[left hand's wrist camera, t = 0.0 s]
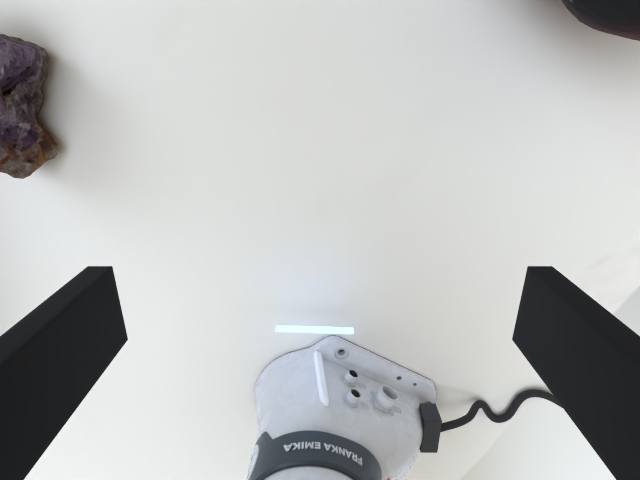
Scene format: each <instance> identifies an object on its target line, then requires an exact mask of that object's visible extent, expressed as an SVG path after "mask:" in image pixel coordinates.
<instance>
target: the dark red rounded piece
mask: <svg viewBox="0 0 640 480" xmlns="http://www.w3.org/2000/svg"><path fill="white" fill-rule="evenodd" d="M562 2H563V3H564V4H565V6H566V7H567V9H568V10H569V11H570V12H571V13H572V14H573V15H574V16H575V17H576V18H577V19H578V20H579V21H580V22H582V23H584V24H586V25H588V26H589V27H591V28H593V29H596V30H599V31H602V32H605V33H609V34H613V35H617V36H621V37H625V38H629V39H633V40H639V41H640V0H562Z"/></svg>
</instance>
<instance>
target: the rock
mask: <svg viewBox="0 0 640 480" xmlns="http://www.w3.org/2000/svg"><path fill="white" fill-rule="evenodd" d="M48 60H49V58H48V55H47V52H46V51H45V49H44V48H42V47H39V46H37V45H36V44H34V43H31V42H25V41H23V40H22V39H20V38H15V37H8V36H6V35H3V34H0V172H3V173H7V174H9V175H10V176H12V177H14V178H21V179H23V178H25V177H28V176H30V175H31V174H32V173H33V172H34V171H35V170H36V169H38V168H39V167H40V166H42V164H43V163H44V162H46V161H47V160H50V159H53V158H55V157H56V154H57V149H56V147H57V143H56V142H55V141H54V140H53V138H52V136H51V135H50V133H49V132H48V131H46V130H45V129H44V128H43V127H42V125H43V124H42V123H41V122H40V121H39V120H38V119H37V118H36V116H37V114H38V113H39V111H40V109H41V106H42V104H43V102H44V95H43V93H42V91H41V85H42V83H43V81H44V80H45V79H47V63H48Z"/></svg>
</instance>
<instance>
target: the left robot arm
mask: <svg viewBox="0 0 640 480" xmlns="http://www.w3.org/2000/svg"><path fill="white" fill-rule="evenodd" d="M127 340H128V338H127V334H126V329H125V324H124V319H123V315H122V310H121V305H120V301H119V296H118V291H117V287H116V282H115V277H114V273H113V268H112V266H88V267H87V268H85V269H84V270H83V271H82V272H80V273H79V274H78V275H77V276H75V277H74V278H73V279H72V280H70V281H69V282H68V283H67V284H65V285H64V286H63V287H62V288H60V289H59V290H58V291H57V292H55V293H54V294H53V295H52V296H50V297H49V298H48V299H47V300H45V301H44V302H43V303H42V304H40V305H39V306H38V307H37V308H35V309H34V310H33V311H32V312H30V313H29V314H28V315H27V316H25V317H24V318H23V319H22V320H20V321H19V322H18V323H17V324H15V325H14V326H13V327H12V328H10V329H9V330H8V331H7V332H5V333H4V334H3V335H2V336H0V480H24V478H25V477H26V476H27V474H28V473H29V472H30V470H31V469H32V468H33V466H34V465H35V464H36V462H37V461H38V460H39V458H40V457H41V455H42V454H43V453H44V451H45V450H46V449H47V447H48V446H49V445H50V443H51V442H52V441H53V439H54V438H55V437H56V435H57V434H58V433H59V431H60V430H61V429H62V427H63V426H64V425H65V423H66V422H67V421H68V419H69V418H70V416H71V415H72V414H73V412H74V411H75V410H76V408H77V407H78V406H79V404H80V403H81V402H82V400H83V399H84V398H85V396H86V395H87V394H88V392H89V391H90V390H91V388H92V387H93V386H94V384H95V383H96V382H97V380H98V379H99V377H100V376H101V375H102V373H103V372H104V371H105V369H106V368H107V367H108V365H109V364H110V363H111V361H112V360H113V359H114V357H115V356H116V355H117V353H118V352H119V351H120V349H121V348H122V347H123V345H124V344H125V343H126V341H127ZM512 340H513V341H514V343H515V344H516V345H517V347H518V348H519V349H520V351H521V352H522V353H523V355H524V356H525V357H526V359H527V360H528V361H529V363H530V364H531V365H532V367H533V368H534V369H535V371H536V372H537V373H538V375H539V376H540V377H541V379H542V380H543V382H544V383H545V384H546V386H547V387H548V388H549V390H550V391H551V392H552V394H553V395H554V396H555V398H556V399H557V400H558V402H559V403H560V404H561V406H562V407H563V408H564V410H565V411H566V412H567V414H568V415H569V416H570V418H571V419H572V421H573V422H574V423H575V425H576V426H577V427H578V429H579V430H580V431H581V433H582V434H583V435H584V437H585V438H586V439H587V441H588V442H589V443H590V445H591V446H592V447H593V449H594V450H595V451H596V453H597V454H598V455H599V457H600V458H601V460H602V461H603V462H604V464H605V465H606V466H607V468H608V469H609V470H610V472H611V473H612V474H613V476H614V477H615V478H616V480H640V336H638V335H637V334H636V333H635V332H633V331H632V330H631V329H630V328H628V327H627V326H626V325H625V324H623V323H622V322H621V321H620V320H618V319H617V318H616V317H615V316H613V315H612V314H611V313H610V312H608V311H607V310H606V309H605V308H603V307H602V306H601V305H600V304H598V303H597V302H596V301H595V300H593V299H592V298H591V297H590V296H588V295H587V294H586V293H585V292H583V291H582V290H581V289H580V288H578V287H577V286H576V285H575V284H573V283H572V282H571V281H570V280H568V279H567V278H566V277H565V276H563V275H562V274H561V273H560V272H558V271H557V270H556V269H555V268H553V267H552V266H528V268H527V273H526V277H525V282H524V287H523V291H522V296H521V301H520V305H519V310H518V315H517V319H516V324H515V329H514V334H513V338H512Z"/></svg>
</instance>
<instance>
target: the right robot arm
mask: <svg viewBox="0 0 640 480" xmlns="http://www.w3.org/2000/svg"><path fill="white" fill-rule="evenodd" d="M276 332H304V333H335V334H353V333H354V330H353V328H346V327H315V326H284V325H276ZM341 349H343V350H344V351H342V352H340V351H339V350H341ZM530 397H541V398H544V399H547V400H549V401H551V402H553V403H555V404H557V405H559V406H560V407H562V406H561V404H560V403H559V402H558V400H557V399H556V398H555V396H554V395H552V394H550V393H548V392H545V391H541V390H528V391H525V392H522V393H521V394H519V395H518V396H517V397H516V398H515V400H514V401H513V402H512V404H511V406H510V407H509V409H508V410H507V411H506V413H504V414H503V415H499V416H496V415H494V414H493V413H492V411H491V409H490V408H489V406H488V405H487V404H486V403H485V402H484V401H476V402H475V403H474V404H473V405H472V406H471V408H470V410H469V412H468V413H467V414H466V415H465V416H463V417H461V418H459V419H456V420H452V421H449V422H445V423H442V420H441V418H440V415H439V412H438V409H437V406H436V400H437V398H436V391H435V386H434V383H433V382H432V381H430V380H429V379H427V378H425V377H422V376H420V375H418V374H416V373H414V372H412V371H410V370H408V369H406V368H403V367H401V366H399V365H397V364H395V363H393V362H391V361H389V360H386V359H384V358H382V357H380V356H378V355H376V354H374V353H372V352H369V351H367V350H365V349H363V348H361V347H359V346H357V345H355V344H353V343H350V342H348V341H346V340H344V339H342V338H340V337H337V336H328V337H326V338H324V339H322V340H321V341H319V342H317V343H316V344H315V345H313V346H312V347H309V348H306V349H303V350H298V351H294V352H291V353H288V354H285V355H283V356H281V357H279V358H277V359H276V360H274V361H273V362H271V363H270V364H269V365H268V366H267V367H266V368H265V369H264V370H263V371H262V373H261V374H260V376H259V378H258V380H257V382H256V385H255V390H254V399H255V405H256V410H257V442H256V445H255V446H254V449H253V452H252V457H251V461H250V466H249V472H248V477H247V480H400V479H401V478H402V477H403V476H404V475H405V474H406V472H407V471H408V470H409V468H410V467H411V465H412V464H413V462H414V460H415V458H416V456H417V454H418V451H419V449H420V452H437V450H438V443H439V437H440V432H443V431H446V430H450V429H454V428H457V427H460V426H462V425H465V424H466V423H468V422H470V421H471V420H472V419H473V418H474V417H475V415H476V413H477V411H478V410H479V408H482V409H483V411H484V412H485V414H486V415H487V417H488V418H489V419H490V420H492V421H493V422H496V423H501V422H505V421H507V420H509V419H510V418H511V417H512V416H513V415H514V414H515V412H516V411H517V409H518V408H519V406H520V405H521V403H522V402H523V401H524V400H526V399H527V398H530ZM428 401H429V402H428ZM562 408H563V407H562Z"/></svg>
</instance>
